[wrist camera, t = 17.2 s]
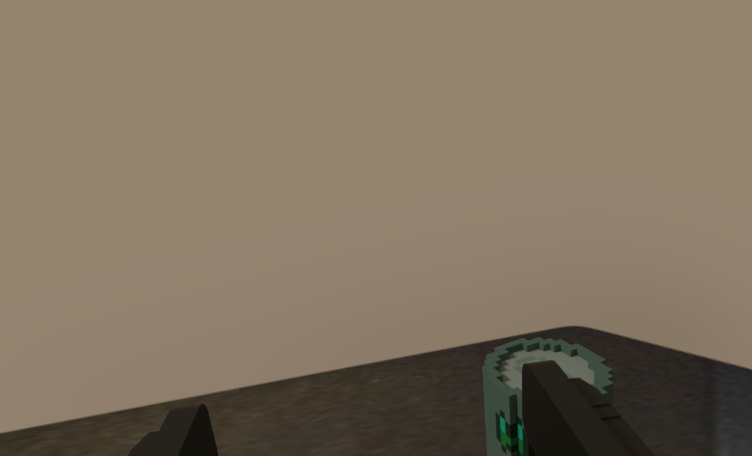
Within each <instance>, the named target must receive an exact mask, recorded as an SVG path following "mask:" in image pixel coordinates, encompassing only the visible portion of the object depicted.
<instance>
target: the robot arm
mask: <svg viewBox="0 0 752 456" xmlns="http://www.w3.org/2000/svg"><path fill="white" fill-rule="evenodd" d="M522 418H523V424H524V429H525V432H526V435H527V438H528V440H529V442H530V444H531V446H532V448H533V450H534V452H535V454H536V455H537V456H655V455H654V454H653V453H652V452H651V451H650V449H649V448H648V447H647V446H646V445H645V444H644V442H643V441H642V440H641V439H640V438H639V437H638V435H637V434H636V433H635V432H634V431H633V430H632V428H631V427H630V426H629V425H628V424H627V423H626V421H625V420H624V419H621V415H620V414H619V413H618V412H617V411H616V410H615V408H614V407H613V406H612V407H611V405H610V403H609V401H608V400H607V399H606V398H605V397H604V396H603V394H602V393H601V392H600V391H599V390H598V389H597V388H596V387H594V386H592V385H591V384H589V383H587V382H586V381H584V380H582V379H581V378H579V377H578V378H570V379H569V378H568V376H567V375H566V374H565V373H564V371H563V370H562V369H561V368H560V366H559V365H558V364H557V363H556V361H554V360H548V361H540V362H532V363H525V364H523V366H522ZM128 456H218V452H217V447H216V443H215V439H214V435H213V430H212V426H211V422H210V418H209V413H208V410H207V407H206V406H205V405H204V404H199V405H191V406H183V407H176V408H172V409H171V410H170V411H169V413H168V415H167V417H166V419H165V421H164V423H163V425H162V426H161V428H160V430H159V431H157V432H149V433H148V434H147V435H146V436H145V437H144V438H143V439H142V440H141V441H140V442H139V443H138V444H137V445H136V446H135V447H134V448H133V449H132V450H131V451H130V453H129V455H128Z"/></svg>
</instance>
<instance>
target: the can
mask: <svg viewBox="0 0 752 456" xmlns="http://www.w3.org/2000/svg"><path fill="white" fill-rule="evenodd" d="M494 351H495V352H494V353H491V354H488V355H486V357H487V360H484V362H485V365H484V366H482V369H483V387H484V405H485V424H486V442H487V456H537V455H536V454H535V452H534V450H533V448H532V446H531V444H530V442H529V440H528V438H527V435H526V432H525V429H524V424H523V418H522V366H523V364H525V363H532V362H540V361H548V360H554V361H556V363H557V364H558V365H559V366H560V368H561V369H562V370H563V371H564V373H565V374H566V375H567V376H568V378H569V379H570V378H578V377H579V378H581V379H582V380H584V381H586V382H587V383H589V384H591V385H592V386H594V387H596V388H597V389H598V390H599V391H600V392H601V393H602V394H603V396H604V397H605V398H606V399H607V400H608V401H609V403H610V405H611V407H612V406H613V402H614V382H613V378H614V376H613V369H611V368H609V367H607V366H606V360H605V359H604V358H602V357H600V356H598V355H597V354H595V353H593V352H591V351H590V350H588V349H586V348H584V347H583V346H581V345H579V344H577V343H576V344H574V345H570V344H568V343H566V342H565V341H563V340H561V339H560V340H557V341H554V340H552V339H551V338H549V339H546V340H544V339H542V338H540V337H538V338H535V339H532V340H529V341H528V340H526V339H524V338H522V339H519V340H516V341H513V342H510V343H507V344H504V345H501V346H498V347H495V348H494Z"/></svg>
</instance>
